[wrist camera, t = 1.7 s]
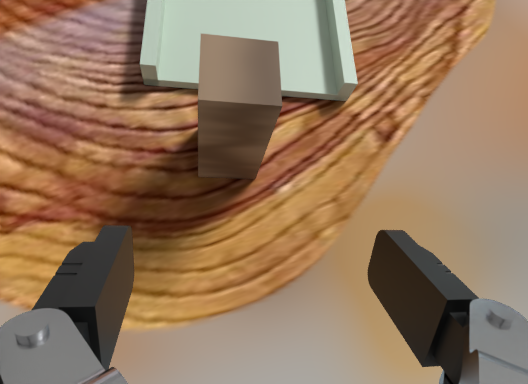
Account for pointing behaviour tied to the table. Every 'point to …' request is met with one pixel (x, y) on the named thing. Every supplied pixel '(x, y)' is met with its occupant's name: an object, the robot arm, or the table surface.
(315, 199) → the table surface
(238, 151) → the block
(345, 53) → the tray
